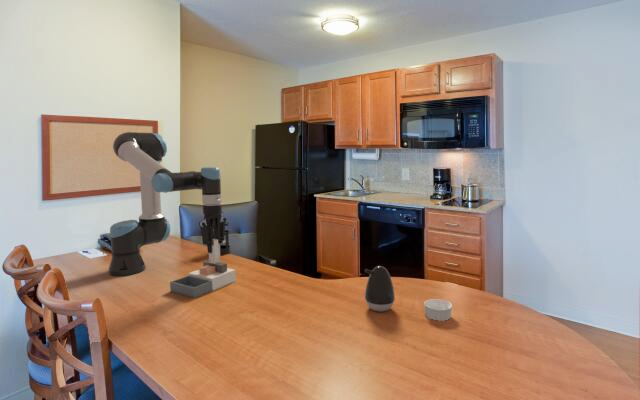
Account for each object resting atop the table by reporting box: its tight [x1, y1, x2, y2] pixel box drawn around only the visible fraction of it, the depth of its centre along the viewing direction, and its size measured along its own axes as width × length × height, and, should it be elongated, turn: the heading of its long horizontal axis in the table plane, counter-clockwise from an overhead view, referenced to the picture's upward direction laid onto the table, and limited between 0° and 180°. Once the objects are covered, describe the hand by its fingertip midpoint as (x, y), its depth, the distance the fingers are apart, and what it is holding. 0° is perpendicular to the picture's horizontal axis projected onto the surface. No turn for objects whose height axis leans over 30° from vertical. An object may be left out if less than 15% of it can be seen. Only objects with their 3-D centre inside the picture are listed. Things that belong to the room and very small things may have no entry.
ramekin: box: [423, 298, 453, 322], centre depth 121 cm, size 9×9×4 cm
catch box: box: [169, 275, 213, 299], centre depth 146 cm, size 14×9×4 cm, turn 59°
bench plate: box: [188, 267, 237, 292], centre depth 155 cm, size 14×13×5 cm
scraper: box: [202, 239, 228, 272], centre depth 156 cm, size 11×3×13 cm, turn 59°
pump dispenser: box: [364, 265, 396, 313], centre depth 127 cm, size 10×10×15 cm
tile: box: [198, 265, 216, 275], centre depth 153 cm, size 4×4×2 cm
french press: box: [213, 211, 232, 256], centre depth 202 cm, size 12×9×23 cm
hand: (214, 259), depth 156 cm, fingers closed on scraper, 2 cm apart
